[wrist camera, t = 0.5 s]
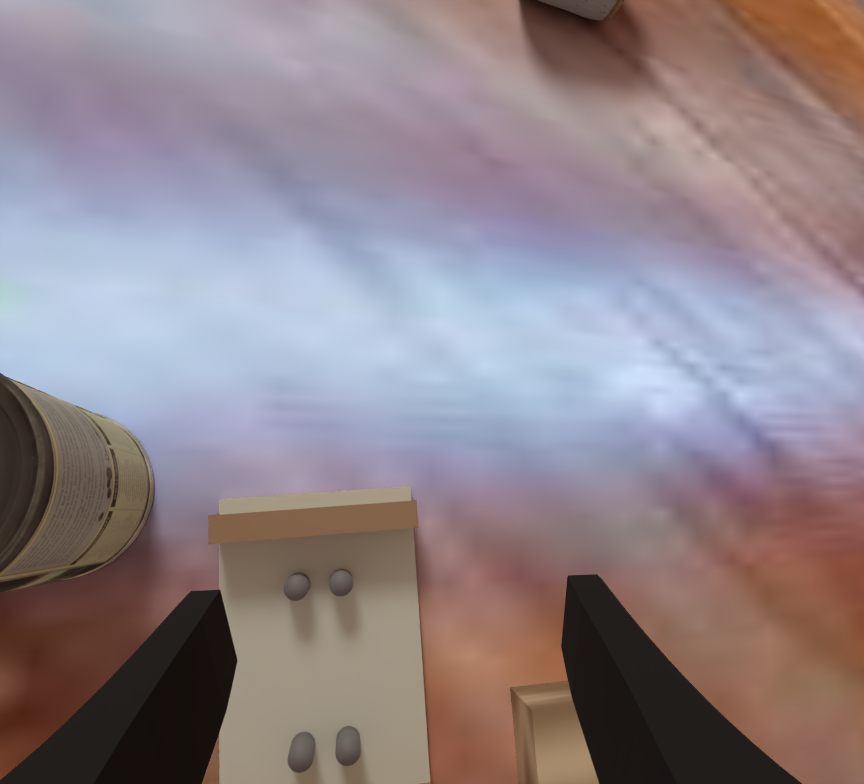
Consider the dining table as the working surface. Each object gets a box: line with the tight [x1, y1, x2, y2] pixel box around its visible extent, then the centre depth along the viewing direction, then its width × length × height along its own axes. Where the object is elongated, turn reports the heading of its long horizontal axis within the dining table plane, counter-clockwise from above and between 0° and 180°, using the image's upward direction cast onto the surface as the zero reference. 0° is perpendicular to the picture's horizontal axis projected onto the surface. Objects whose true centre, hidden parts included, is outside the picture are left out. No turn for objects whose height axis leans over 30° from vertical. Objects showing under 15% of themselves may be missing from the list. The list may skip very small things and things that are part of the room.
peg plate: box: [209, 486, 431, 784], centre depth 34 cm, size 20×12×3 cm, turn 4°
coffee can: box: [0, 373, 154, 593], centre depth 29 cm, size 10×10×14 cm
